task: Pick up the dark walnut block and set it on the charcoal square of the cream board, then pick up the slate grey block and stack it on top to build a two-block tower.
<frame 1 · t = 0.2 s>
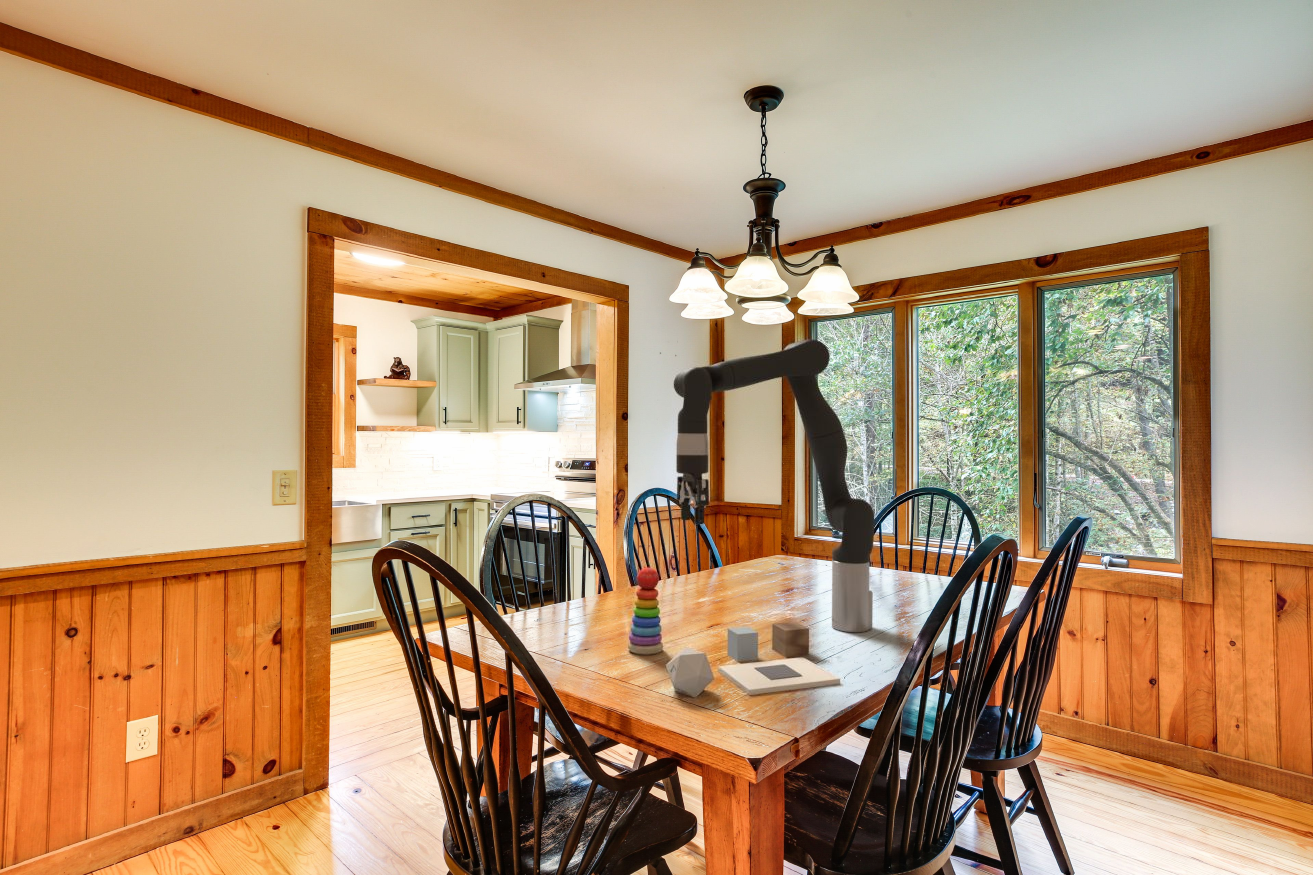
hand: (692, 522, 162), 29 cm above the table, tool pointing down, fingers open, 8 cm apart
walnut block: (790, 652, 157), on the table
cream board: (777, 677, 140), on the table
die: (689, 692, 131), on the table
stacking toy: (645, 651, 157), on the table
slate block: (742, 657, 153), on the table
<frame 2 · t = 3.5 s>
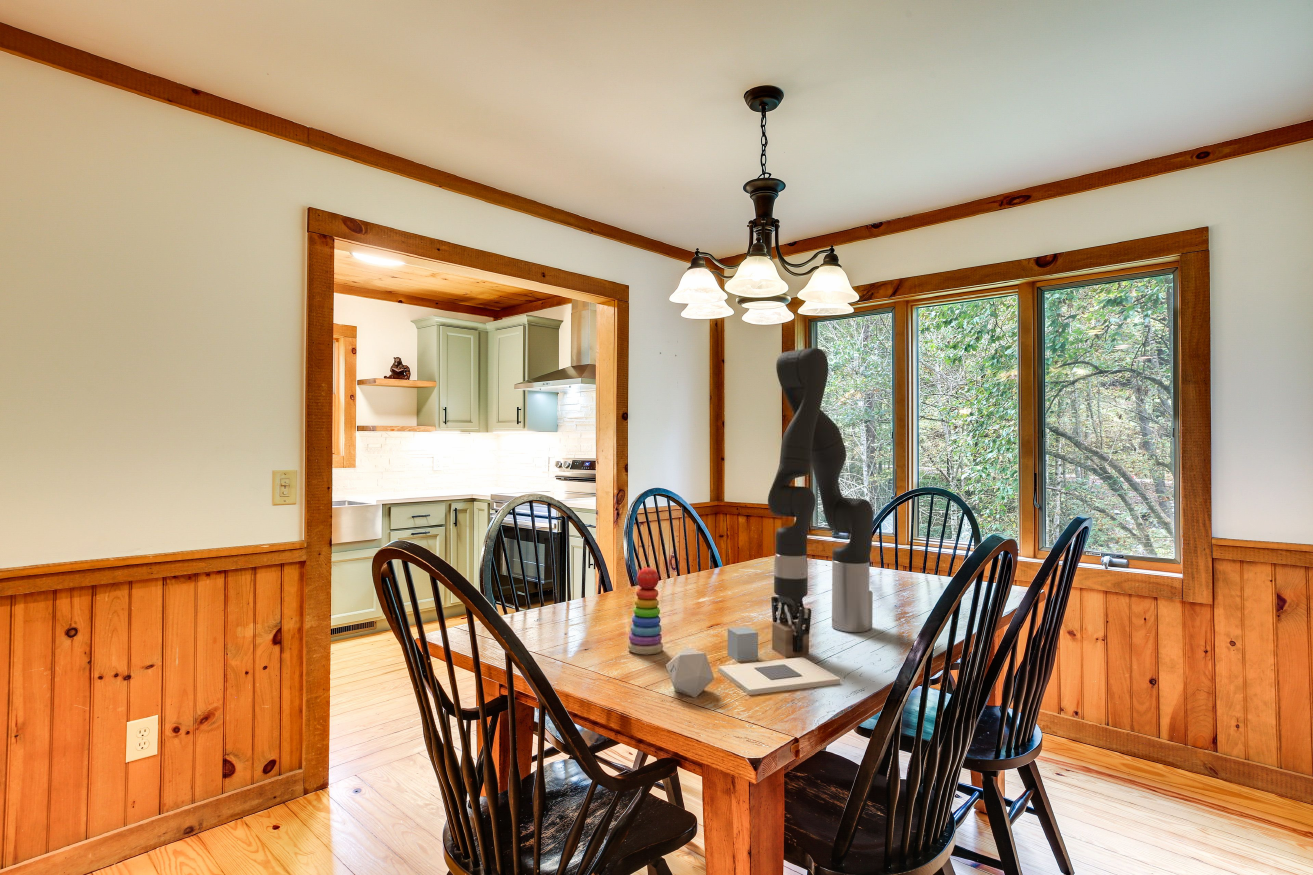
hand: (790, 647, 157), 1 cm above the table, tool pointing down, fingers closed on walnut block, 6 cm apart
walnut block: (790, 652, 157), on the table, touching gripper
everything else where it was.
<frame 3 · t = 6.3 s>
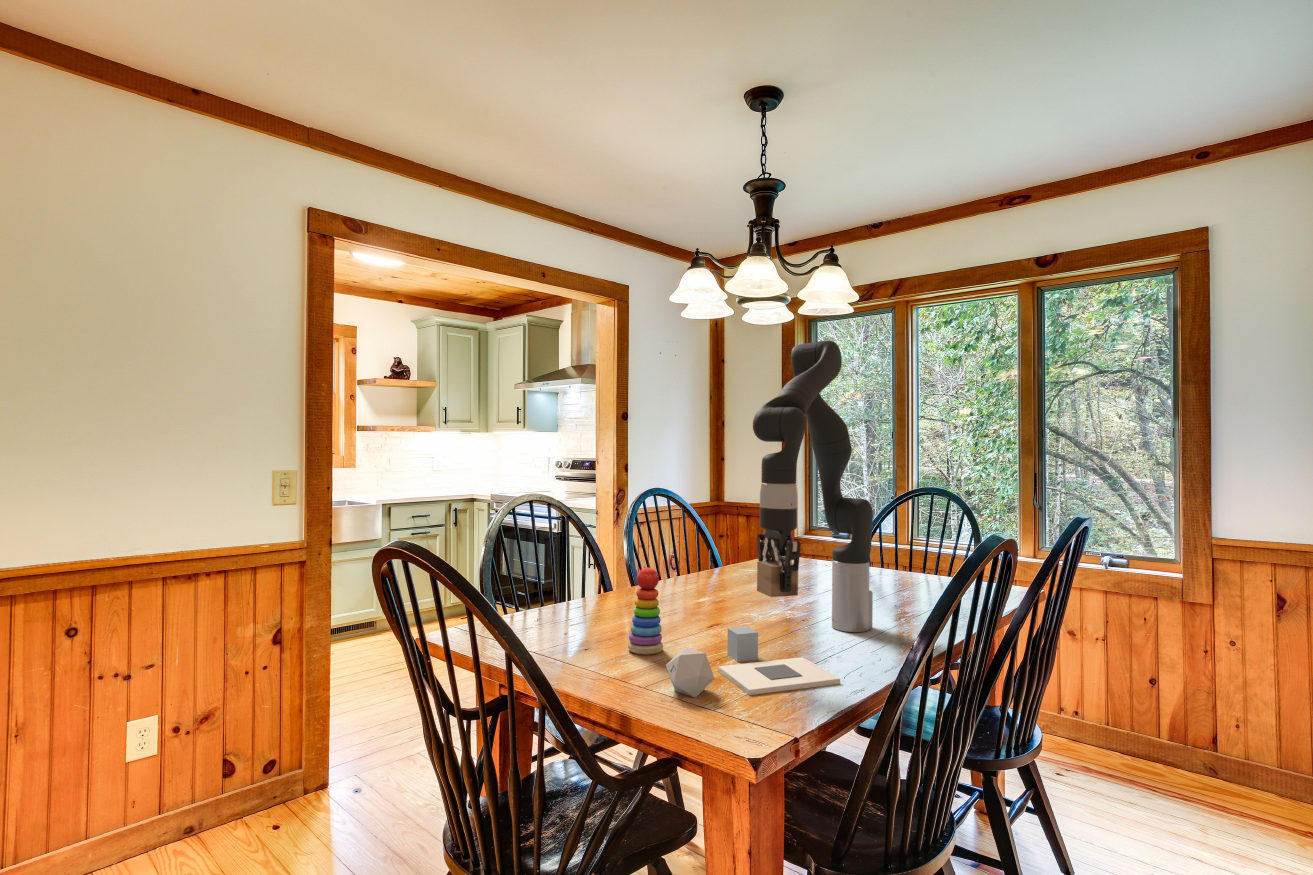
hand: (777, 587, 140), 18 cm above the table, tool pointing down, fingers closed on walnut block, 6 cm apart
walnut block: (777, 592, 140), point 17 cm above the table, touching gripper
everything else where it was.
when the fingers open (3 cm above the table, at t = 9.1 s): walnut block drops 1 cm, resting on cream board.
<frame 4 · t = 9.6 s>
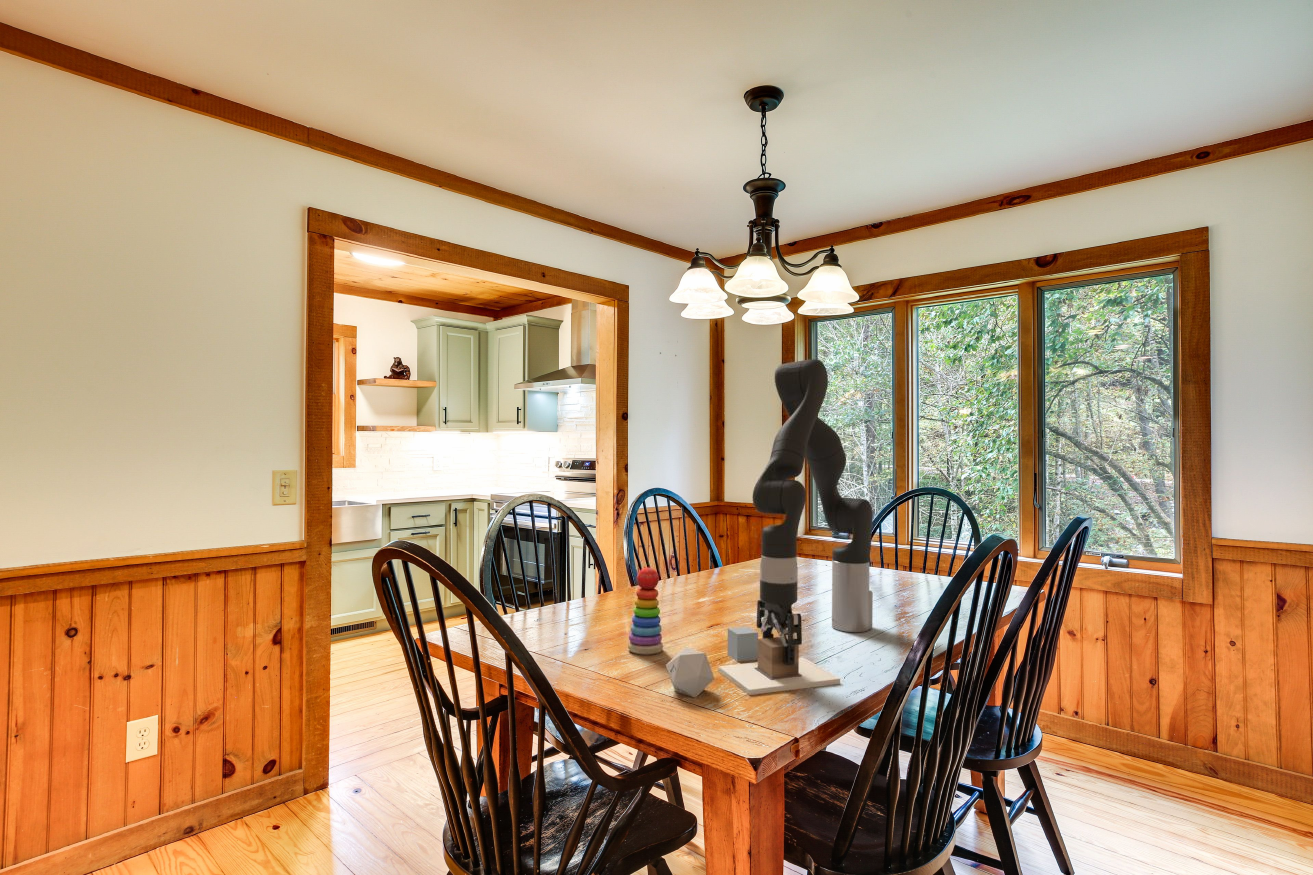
hand: (778, 657, 140), 4 cm above the table, tool pointing down, fingers open, 8 cm apart
walnut block: (777, 671, 140), point 1 cm above the table, touching cream board
everything else where it was.
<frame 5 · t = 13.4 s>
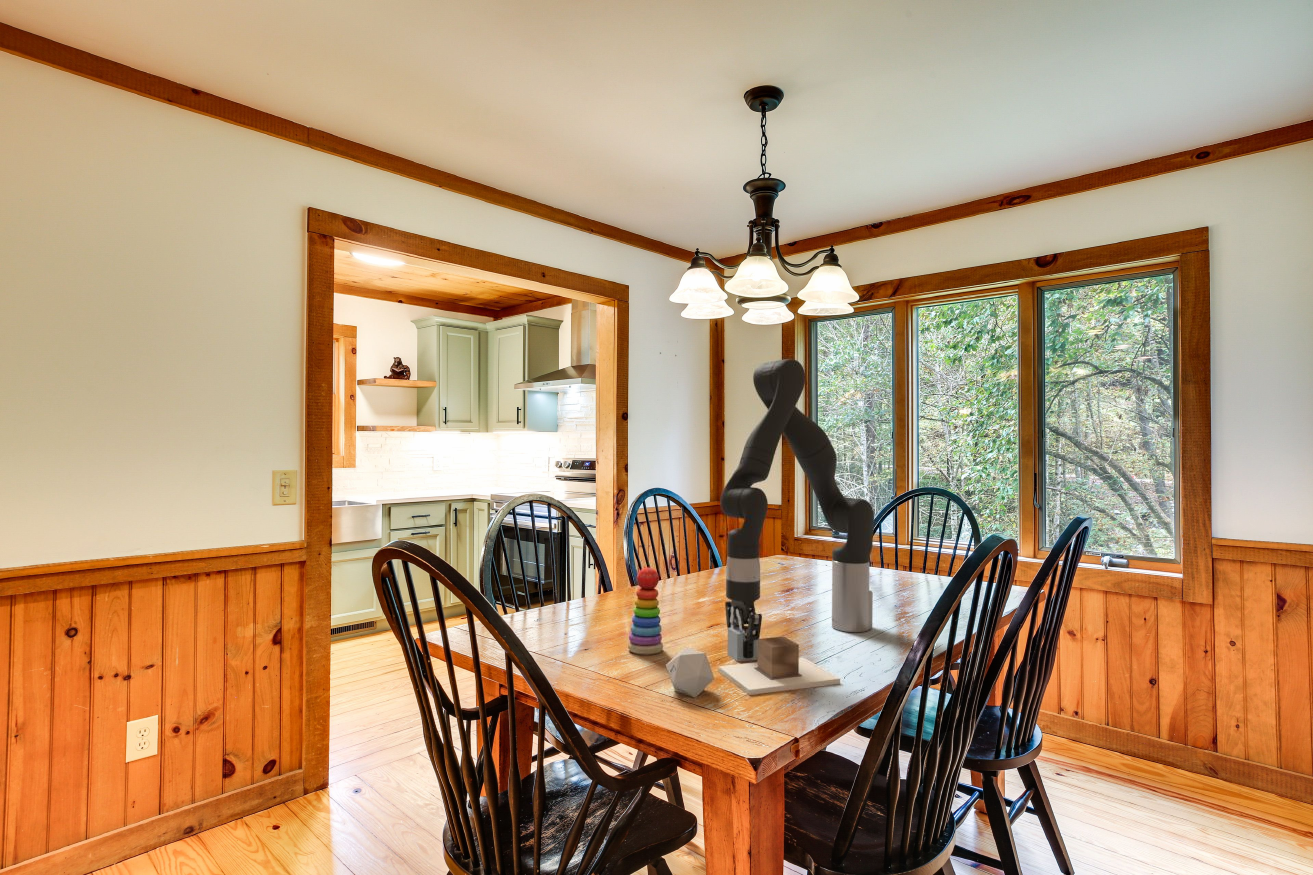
hand: (742, 653, 153), 1 cm above the table, tool pointing down, fingers closed on slate block, 5 cm apart
slate block: (742, 657, 153), on the table, touching gripper
everything else where it was.
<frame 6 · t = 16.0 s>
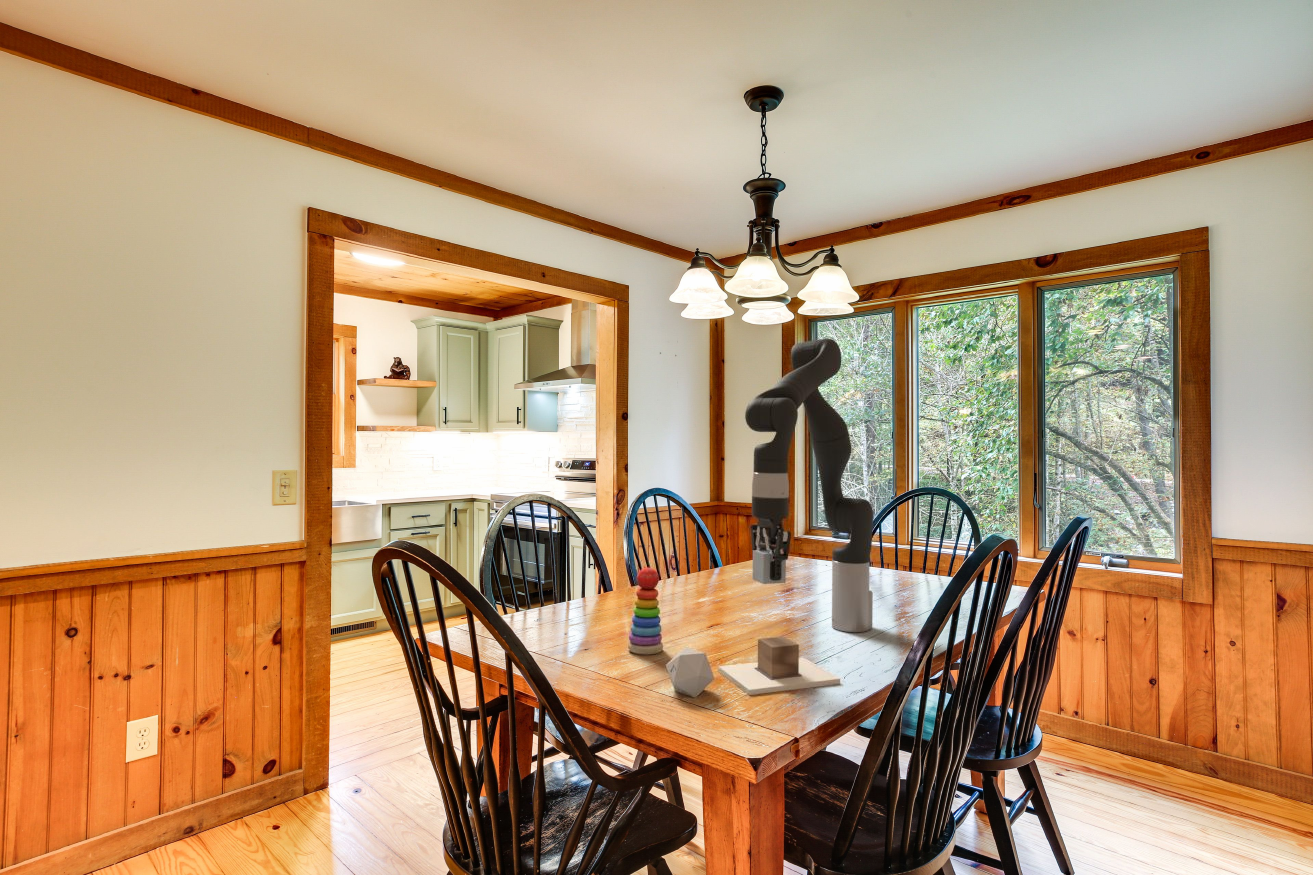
hand: (769, 577, 142), 20 cm above the table, tool pointing down, fingers closed on slate block, 5 cm apart
slate block: (768, 581, 142), point 19 cm above the table, touching gripper
everything else where it was.
when the fingers open (9 cm above the table, at t = 18.6 s): slate block drops 1 cm, resting on walnut block.
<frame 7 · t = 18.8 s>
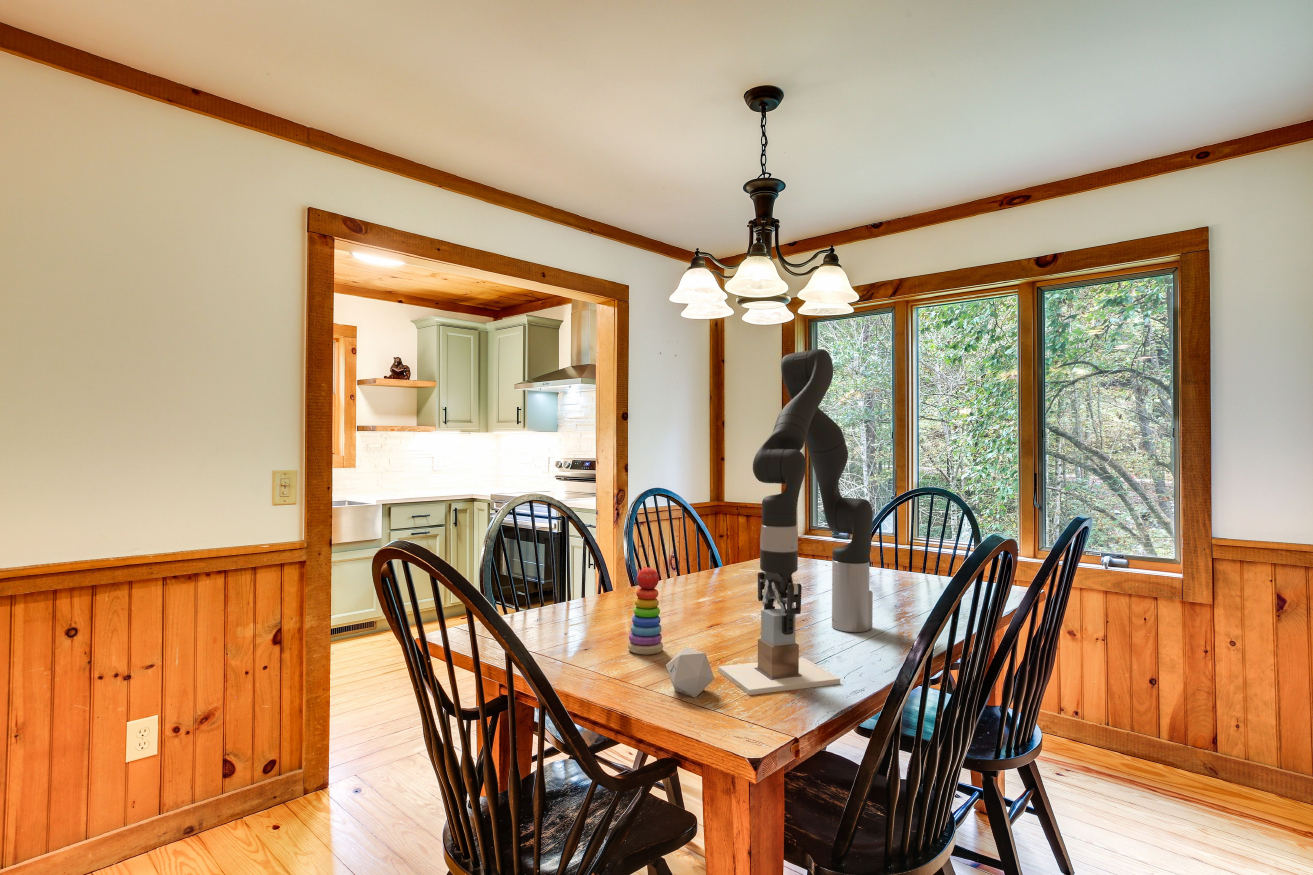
hand: (778, 628, 140), 10 cm above the table, tool pointing down, fingers open, 7 cm apart
walnut block: (777, 671, 140), point 1 cm above the table, touching cream board, slate block
slate block: (777, 641, 140), point 7 cm above the table, touching walnut block
everything else where it was.
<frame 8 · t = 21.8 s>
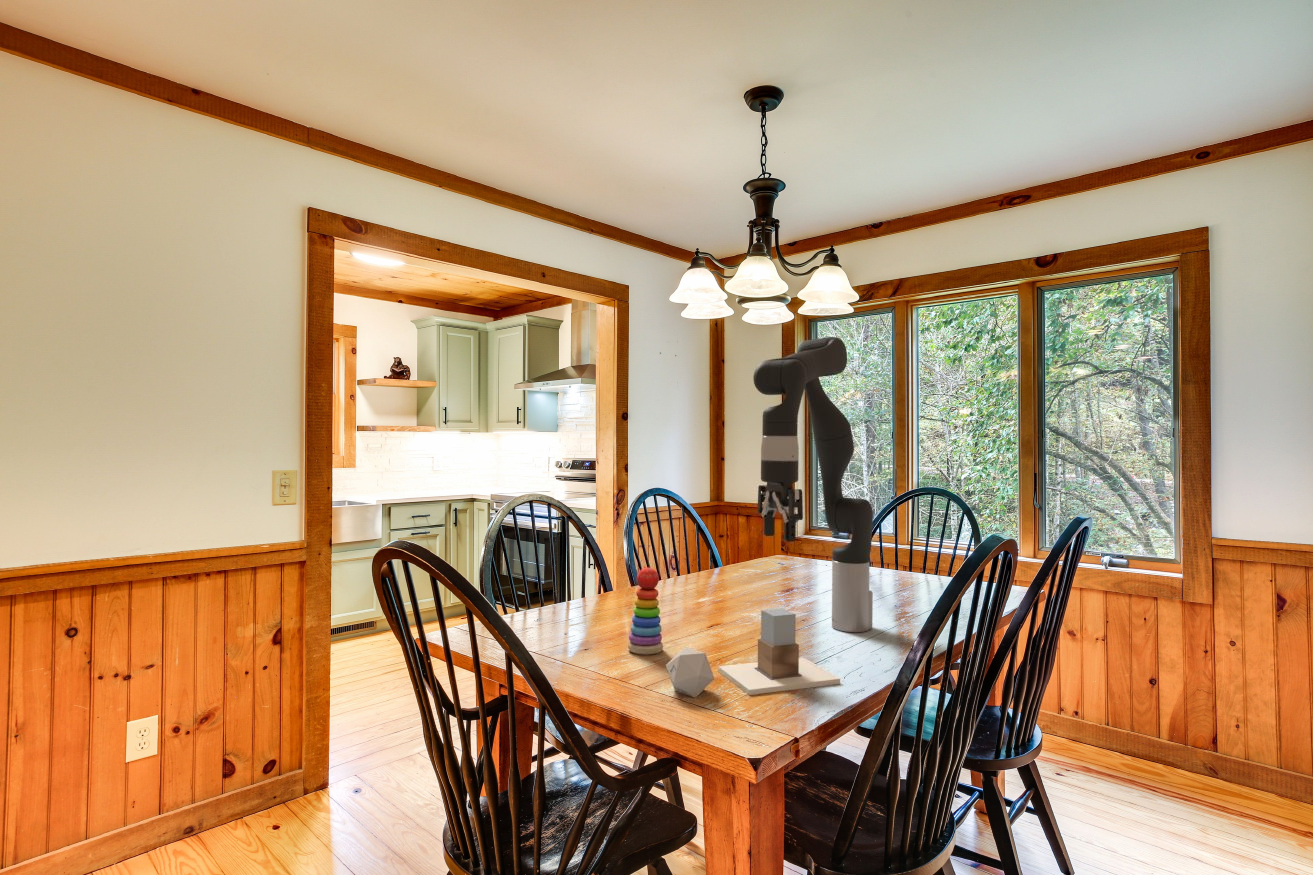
hand: (779, 538, 140), 28 cm above the table, tool pointing down, fingers open, 8 cm apart
nothing on the table moved.
at the end: walnut block 0.0 cm off-centre on the cream board, point 1.2 cm above the cream board's base; slate block 0.1 cm off-centre on the walnut block, point 6.0 cm above the walnut block's base; slate block tilted 0° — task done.
